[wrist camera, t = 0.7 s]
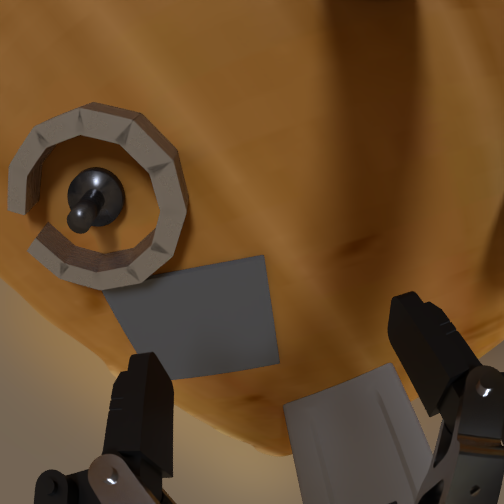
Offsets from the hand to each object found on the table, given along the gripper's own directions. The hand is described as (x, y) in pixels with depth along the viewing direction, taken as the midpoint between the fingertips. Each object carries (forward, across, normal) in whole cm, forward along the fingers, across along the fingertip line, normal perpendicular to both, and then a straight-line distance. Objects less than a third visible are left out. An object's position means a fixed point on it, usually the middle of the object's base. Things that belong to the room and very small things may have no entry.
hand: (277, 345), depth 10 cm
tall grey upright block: (+21, -10, +44) cm, 50 cm away
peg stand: (+19, +12, -1) cm, 23 cm away
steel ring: (+19, +12, -1) cm, 23 cm away
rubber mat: (+20, +8, +17) cm, 27 cm away
